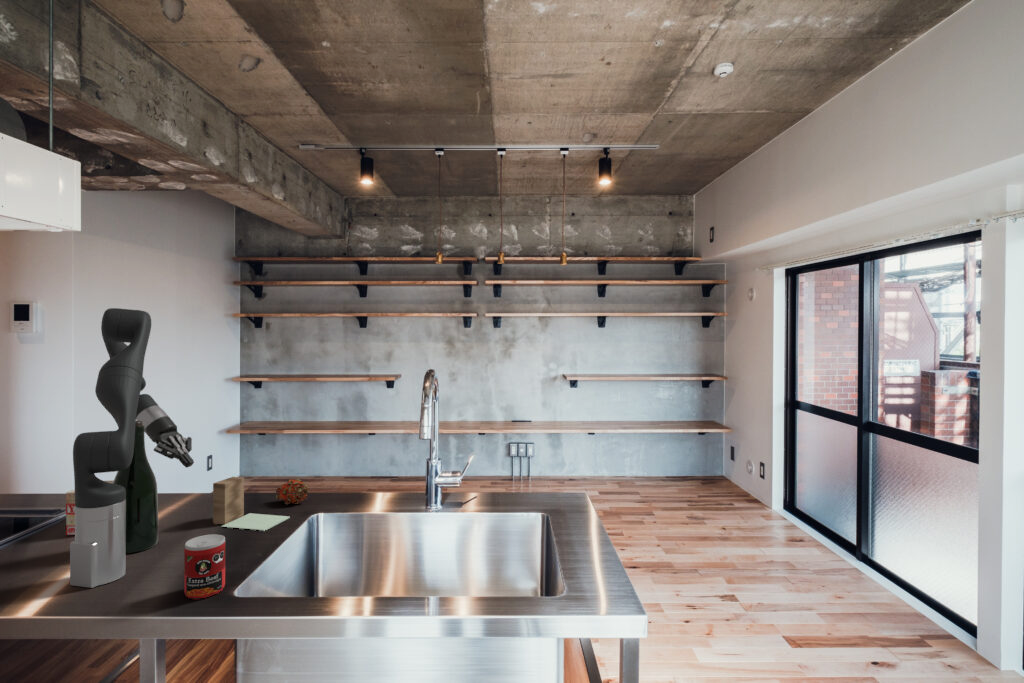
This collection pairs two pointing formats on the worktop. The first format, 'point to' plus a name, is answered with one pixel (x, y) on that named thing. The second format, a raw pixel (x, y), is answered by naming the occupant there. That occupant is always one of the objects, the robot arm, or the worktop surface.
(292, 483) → the dragon fruit
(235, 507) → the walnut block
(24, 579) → the worktop surface
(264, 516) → the mat
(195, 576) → the canned food
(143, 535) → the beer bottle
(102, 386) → the robot arm
